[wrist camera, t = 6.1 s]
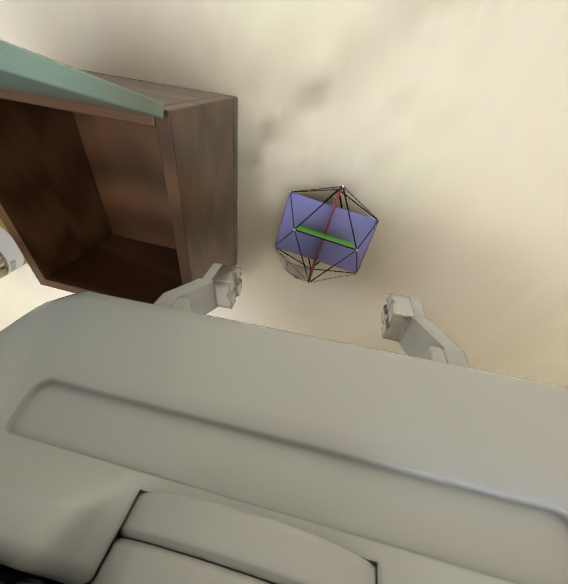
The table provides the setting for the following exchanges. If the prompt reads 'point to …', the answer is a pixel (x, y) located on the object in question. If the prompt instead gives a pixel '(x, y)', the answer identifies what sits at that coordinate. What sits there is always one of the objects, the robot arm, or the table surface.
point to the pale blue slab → (67, 83)
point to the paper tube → (9, 252)
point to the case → (120, 189)
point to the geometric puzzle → (323, 234)
